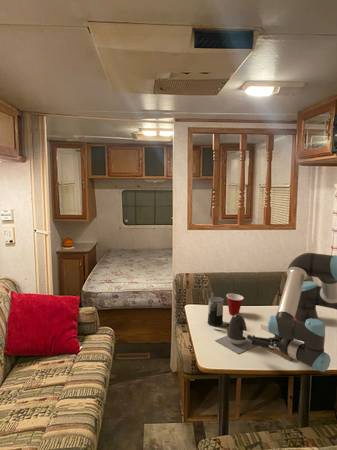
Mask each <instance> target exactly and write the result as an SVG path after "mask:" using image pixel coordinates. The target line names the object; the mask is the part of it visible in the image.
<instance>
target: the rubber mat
mask: <svg viewBox="0 0 337 450" xmlns="http://www.w3.org/2000/svg"><path fill="white" fill-rule="evenodd" d="M214 342H216V343H218V344H220V345H221V346H223V347H225V348H227V349H228V350H230V351H232V352H234V353H236V354H237V355H240V354H242V353H245V352H247V351H250V349H253V348H255V347H257V346H256V345H252V341H251V340H249V339H246V341H245V342H244V343H243V344H240V345H236V344H233V343H232V342H230V340H229V338H228V336H227V335H225V336H223V337H219V338H217V339H215V340H214Z"/></svg>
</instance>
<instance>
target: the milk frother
mask: <svg viewBox="0 0 337 450" xmlns="http://www.w3.org/2000/svg"><path fill="white" fill-rule="evenodd" d="M207 300H208V307H207V308H208V309H207V313H208V315H207V325H210V326H212V327H220V326H223V327H229V323H224V322H223V317H224V301H225V299H224V298H222V297H220V296H210V297H208V299H207Z"/></svg>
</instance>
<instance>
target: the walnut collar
mask: <svg viewBox="0 0 337 450" xmlns="http://www.w3.org/2000/svg"><path fill="white" fill-rule="evenodd" d="M274 337H275V336H273V337H271V338H274ZM270 343H271V342H270ZM262 348H263V349H265V350H267V351H269V352H270V353H273V354H275V355H277V356H278V357H280V358H282V359H284V360H287V361H288V362H292V361H293V360H295V359H294V358H292V357H290V356H288V355H286V354H284V353H282V352H281V351H280V349H279V348H276V347H274V350H271V349H269V348H265V347H262Z"/></svg>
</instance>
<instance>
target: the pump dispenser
mask: <svg viewBox="0 0 337 450" xmlns="http://www.w3.org/2000/svg"><path fill="white" fill-rule="evenodd" d="M228 324H229V326H227V327H228V328H227V331H226V332H227V333H226V336H228V338H229V340H230V342H232V343H233V344H236V345H240V344H243V343H244V342H245V341H246V339H247V338H246V337H244V336H243V331H247V332H248V329H247V325H246V321H245V318H244V317H243V315H242V314H240V313H239V314H235V315H234V316H231V319H230V321H229V323H228Z"/></svg>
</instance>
